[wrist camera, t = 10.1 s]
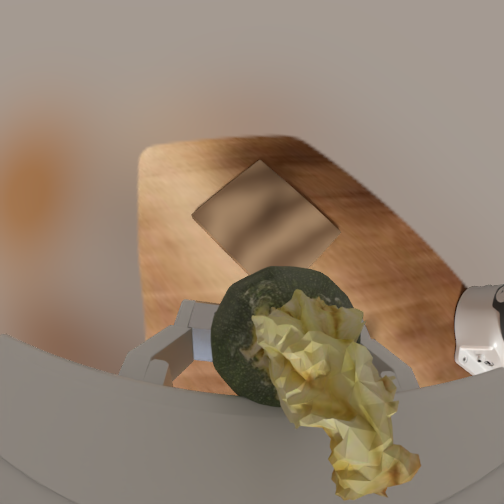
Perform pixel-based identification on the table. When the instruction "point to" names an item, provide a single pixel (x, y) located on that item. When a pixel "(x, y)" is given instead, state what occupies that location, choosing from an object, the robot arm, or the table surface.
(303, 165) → the table surface
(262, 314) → the vegetable
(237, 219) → the cutting board
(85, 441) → the robot arm
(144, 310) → the table surface
